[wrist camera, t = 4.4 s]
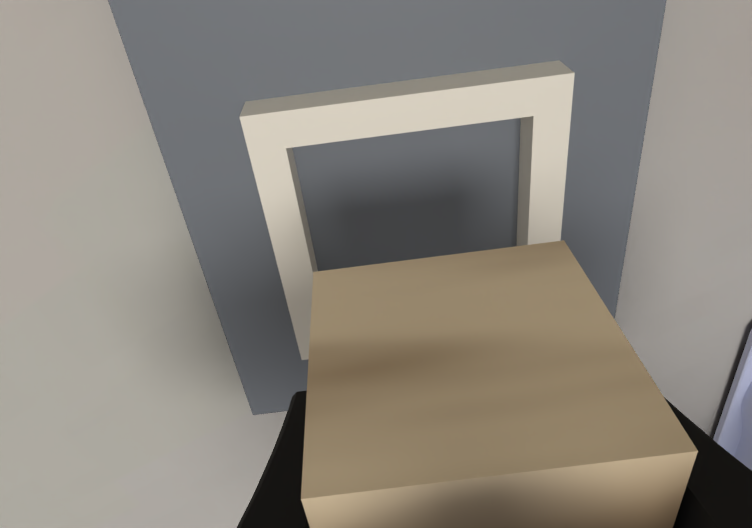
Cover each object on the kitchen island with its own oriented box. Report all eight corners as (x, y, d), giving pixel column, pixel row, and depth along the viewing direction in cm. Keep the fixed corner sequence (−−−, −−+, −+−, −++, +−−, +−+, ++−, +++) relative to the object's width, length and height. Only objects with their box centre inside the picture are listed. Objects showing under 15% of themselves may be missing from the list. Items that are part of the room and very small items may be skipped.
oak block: (548, 410, 14) (638, 632, 10) (348, 435, 14) (353, 665, 10) (563, 240, 11) (697, 450, 7) (313, 272, 11) (301, 499, 7)
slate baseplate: (596, 353, 23) (618, 394, 21) (255, 396, 23) (249, 439, 21) (664, -117, 14) (713, -117, 12) (108, -42, 14) (76, -30, 12)
